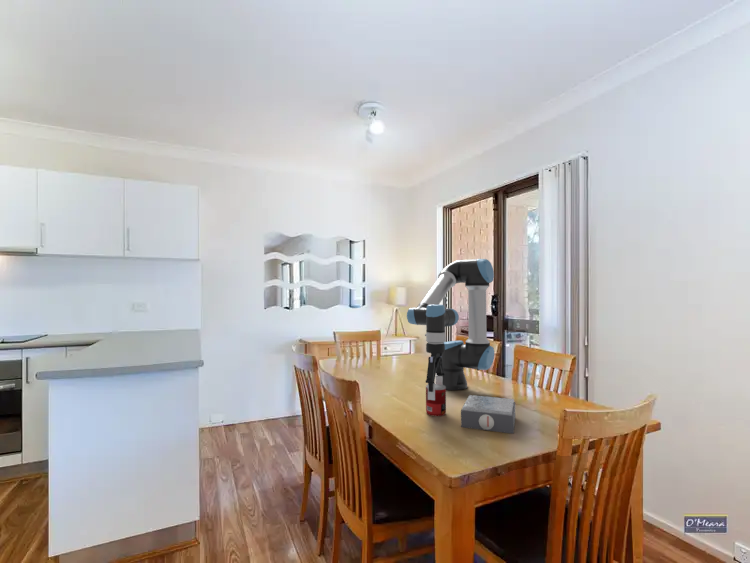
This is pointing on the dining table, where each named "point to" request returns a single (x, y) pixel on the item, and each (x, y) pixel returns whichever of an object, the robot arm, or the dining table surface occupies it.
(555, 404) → the dining table surface
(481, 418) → the scale base
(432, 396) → the robot arm
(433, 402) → the canned food
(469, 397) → the scale pan
